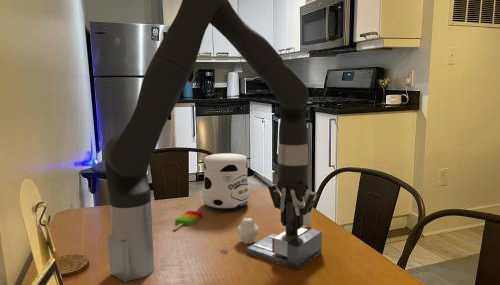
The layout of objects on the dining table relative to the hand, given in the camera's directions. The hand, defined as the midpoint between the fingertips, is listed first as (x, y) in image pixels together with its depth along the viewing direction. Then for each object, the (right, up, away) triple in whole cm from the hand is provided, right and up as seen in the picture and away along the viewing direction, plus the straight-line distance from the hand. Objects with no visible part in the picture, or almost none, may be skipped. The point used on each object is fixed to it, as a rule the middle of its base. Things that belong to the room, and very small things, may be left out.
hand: (291, 226), depth 98 cm
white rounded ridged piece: (-11, -7, +10) cm, 17 cm away
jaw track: (-2, -8, +3) cm, 8 cm away
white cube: (+5, -5, +23) cm, 24 cm away
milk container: (-20, -2, +42) cm, 46 cm away
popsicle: (-32, -5, +25) cm, 40 cm away
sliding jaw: (0, -6, +1) cm, 6 cm away
